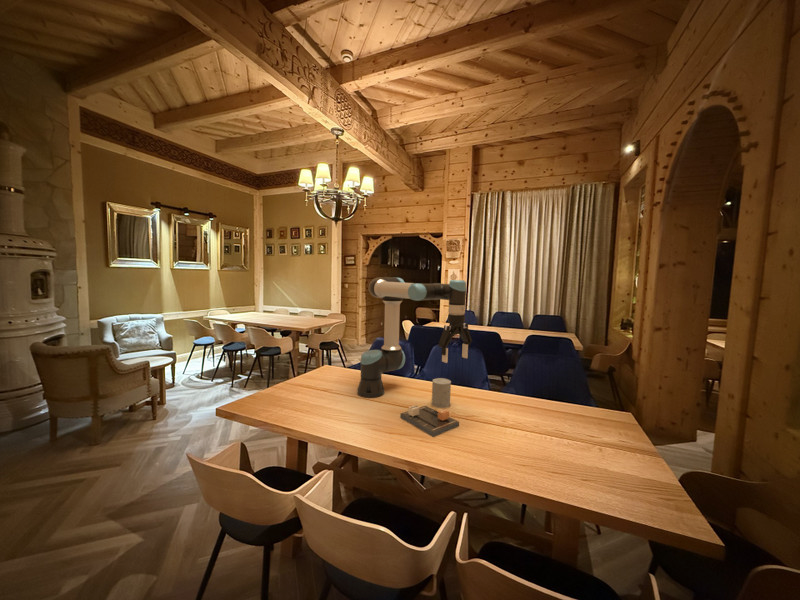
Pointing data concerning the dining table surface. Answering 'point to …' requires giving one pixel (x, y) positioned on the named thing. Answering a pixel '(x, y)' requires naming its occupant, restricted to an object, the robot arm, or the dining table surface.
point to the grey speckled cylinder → (441, 392)
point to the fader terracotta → (443, 414)
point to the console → (429, 421)
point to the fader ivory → (413, 410)
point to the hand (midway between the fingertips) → (454, 359)
